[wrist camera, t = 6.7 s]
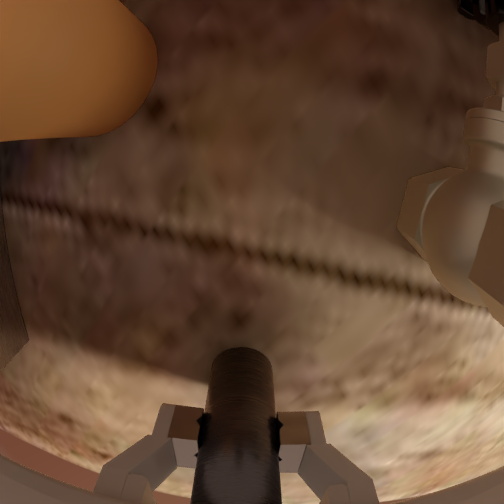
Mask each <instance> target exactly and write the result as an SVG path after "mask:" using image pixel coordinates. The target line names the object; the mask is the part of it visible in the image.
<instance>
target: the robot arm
mask: <svg viewBox="0 0 504 504" xmlns="http://www.w3.org/2000/svg"><path fill="white" fill-rule="evenodd" d="M203 419H204V409H203V408H196V407H188V406H181V405H173V404H166V403H163V404H162V405H161V407H160V410H159V413H158V417H157V420H156V423H155V426H154V429H153V433H152V435H147V436H145V437H144V438H142V439H141V440H140V441H138V442H137V443H135V444H134V445H132V446H131V447H130V448H128V449H127V450H125V451H124V452H122V453H121V454H119V455H118V456H117V457H115V458H114V459H112V460H111V461H109V462H108V463H106V464H105V465H103V467H102V470H101V472H100V475H99V478H98V480H97V483H96V486H95V488H94V491H89V490H86V489H83V488H80V487H77V486H74V485H71V484H68V483H65V482H63V481H60V480H57V479H55V478H52V477H49V476H47V475H44V474H42V473H40V472H37V471H35V470H32V469H30V468H28V467H26V466H23V465H21V464H19V463H17V462H15V461H13V460H10V459H9V458H7V457H5V456H3V455H1V454H0V504H157V503H156V500H155V498H154V496H153V493H152V492H153V491H154V490H155V489H156V488H157V487H158V486H159V485H160V484H161V483H162V482H163V481H164V480H165V479H166V478H167V477H168V476H169V475H170V474H171V473H172V472H173V471H174V470H175V469H176V468H177V466H178V467H187V468H196V463H197V456H198V451H199V444H200V438H201V430H202V426H203ZM276 429H277V443H278V456H279V469H280V473H297V472H298V474H299V475H300V477H301V478H302V479H303V480H304V481H305V483H306V484H307V485H308V486H309V487H310V488H311V490H312V491H313V492H314V493H315V494H316V495H317V497H318V498H319V499H320V500H321V502H320V503H319V504H379V501H378V497H377V494H376V490H375V487H374V483H373V480H372V478H370V477H369V476H368V475H367V474H365V473H364V472H363V471H362V470H361V469H359V468H358V467H357V466H356V465H355V464H353V463H352V462H351V461H350V460H349V459H347V458H346V457H345V456H344V455H343V454H342V453H340V452H339V451H338V450H337V449H336V448H335V447H333V446H332V445H331V444H326V439H325V435H324V430H323V426H322V421H321V417H320V413H319V412H318V411H306V412H304V411H302V412H277V414H276ZM391 504H504V466H503V467H500V468H498V469H496V470H494V471H491V472H489V473H487V474H484V475H482V476H479V477H477V478H474V479H472V480H469V481H466V482H464V483H461V484H458V485H455V486H452V487H449V488H446V489H443V490H440V491H437V492H433V493H430V494H427V495H423V496H419V497H416V498H412V499H408V500H404V501H400V502H395V503H391Z"/></svg>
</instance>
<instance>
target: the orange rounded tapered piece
mask: <svg viewBox="0 0 504 504" xmlns="http://www.w3.org/2000/svg"><path fill="white" fill-rule="evenodd" d="M157 62H158V56H157V48H156V44H155V41H154V39H153V36H152V34H151V33H150V31H149V30H148V29H147V27H146V26H145V25H144V24H143V23H142V22H141V21H140V20H139V19H138V18H137V17H136V16H135V15H134V14H133V13H132V12H131V11H130V10H129V9H128V8H127V7H125V6H124V5H123V4H122V3H121V2H120V1H119V0H0V142H3V141H14V140H27V139H42V138H64V137H93V136H99V135H102V134H105V133H108V132H110V131H112V130H114V129H116V128H117V127H119V126H121V125H122V124H123V123H125V122H126V121H127V120H128V119H130V118H131V117H132V116H133V115H134V114H135V113H136V111H137V110H138V109H139V108H140V107H141V105H142V104H143V102H144V101H145V99H146V98H147V96H148V94H149V92H150V90H151V88H152V85H153V83H154V79H155V76H156V71H157Z"/></svg>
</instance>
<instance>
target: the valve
mask: <svg viewBox="0 0 504 504" xmlns="http://www.w3.org/2000/svg"><path fill="white" fill-rule="evenodd" d="M458 12H459V13H460V14H461V15H463V16H465V17H466V18H468V19H471V20H476V21H477V23H479V24H480V25H482V26H483V27H485V28H486V29H488V30H491V31H492V32H494V33H495V34H496V35H498V36H499V42H495V43H492V44H490V45H489V46H487V65H486V79H487V81H488V82H489V84H490V85H491V86H492V88H493V89H494V90H495V96H489V97H487V98H484V103H483V107H477V108H471V109H470V110H468V111H467V113H466V119H465V126H464V132H463V142H464V143H465V144H466V145H467V146H469V147H470V148H471V150H470V155H469V160H468V165H467V167H466V169H465V170H462V169H457V168H452V167H446V168H442V169H438V170H435V171H432V172H429V173H425V174H422V175H419V176H415V177H412V178H410V179H409V181H408V183H407V187H406V191H405V195H404V199H403V203H402V207H401V211H400V215H399V218H398V222H397V229H398V230H399V232H400V233H401V234H402V235H403V236H404V237H405V238H406V239H407V241H408V242H409V243H410V244H411V245H412V246H413V248H414V249H415V250H416V251H417V252H418V253H419V255H420V256H421V257H422V258H423V259H424V260H425V261H426V262H428V264H429V266H430V268H431V271H432V272H433V274H434V275H435V277H436V278H437V280H438V281H439V282H440V283H441V285H442V286H443V287H444V288H445V289H446V290H447V291H449V292H450V293H451V294H452V295H454V296H455V297H457V298H459V299H460V300H462V301H464V302H467V303H469V304H473V305H477V306H485V307H487V308H488V310H489V312H490V313H491V315H492V316H493V318H495V319H496V320H497V321H498V322H499V323H500V324H501V325H502V326H503V327H504V0H458Z"/></svg>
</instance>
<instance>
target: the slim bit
mask: <svg viewBox="0 0 504 504" xmlns="http://www.w3.org/2000/svg"><path fill="white" fill-rule="evenodd" d="M190 504H282V499H281V484H280V469H279V456H278V443H277V429H276V413H275V400H274V387H273V374H272V366H271V363H270V361H269V360H268V358H267V357H266V356H264V355H263V354H262V353H260V352H258V351H256V350H253V349H250V348H233V349H229V350H226V351H224V352H222V353H221V354H219V355H218V356H217V357H216V359H215V360H214V362H213V364H212V369H211V375H210V381H209V387H208V393H207V399H206V405H205V412H204V419H203V426H202V430H201V438H200V444H199V451H198V456H197V463H196V469H195V476H194V483H193V489H192V496H191V503H190Z"/></svg>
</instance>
